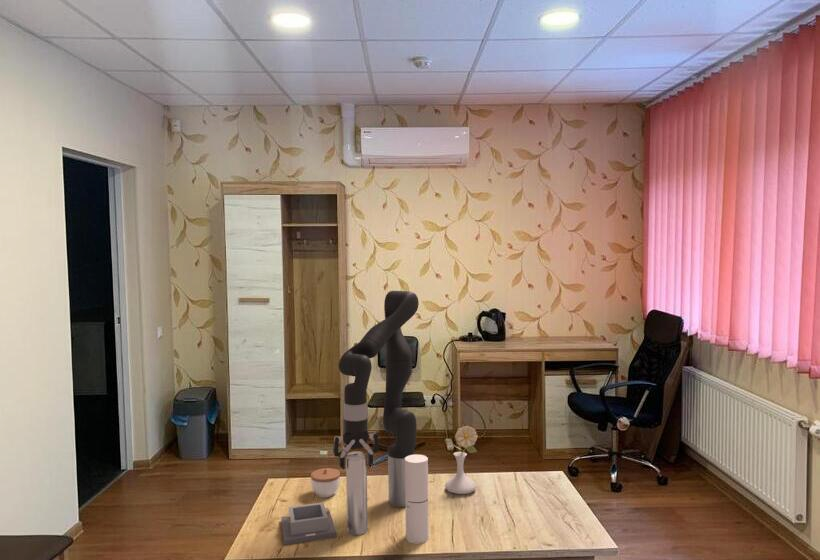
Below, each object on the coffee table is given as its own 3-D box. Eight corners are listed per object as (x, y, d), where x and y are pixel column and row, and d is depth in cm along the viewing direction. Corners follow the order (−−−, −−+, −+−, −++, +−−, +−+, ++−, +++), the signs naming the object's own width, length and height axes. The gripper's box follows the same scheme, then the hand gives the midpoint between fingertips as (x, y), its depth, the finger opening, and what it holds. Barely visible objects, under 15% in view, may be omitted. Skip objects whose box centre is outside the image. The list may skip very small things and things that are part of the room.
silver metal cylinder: (364, 536, 176) (363, 458, 175) (344, 534, 177) (343, 456, 176) (370, 526, 182) (368, 450, 181) (350, 525, 184) (349, 449, 183)
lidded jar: (318, 503, 201) (317, 477, 200) (306, 492, 210) (306, 467, 209) (345, 495, 206) (344, 470, 206) (332, 485, 215) (332, 461, 215)
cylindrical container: (421, 545, 170) (420, 464, 169) (401, 539, 174) (400, 460, 173) (433, 535, 176) (432, 457, 175) (413, 529, 180) (412, 453, 179)
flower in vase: (439, 492, 208) (438, 425, 207) (455, 482, 217) (454, 418, 216) (470, 500, 201) (469, 431, 200) (485, 489, 210) (484, 423, 209)
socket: (329, 514, 191) (329, 498, 191) (336, 536, 176) (336, 519, 176) (281, 521, 187) (281, 505, 187) (284, 544, 172) (284, 527, 171)
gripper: (375, 411, 184) (375, 460, 185) (331, 415, 180) (332, 465, 181) (380, 417, 177) (380, 468, 177) (335, 421, 173) (335, 473, 173)
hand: (356, 466), depth 179 cm, fingers open, 8 cm apart
